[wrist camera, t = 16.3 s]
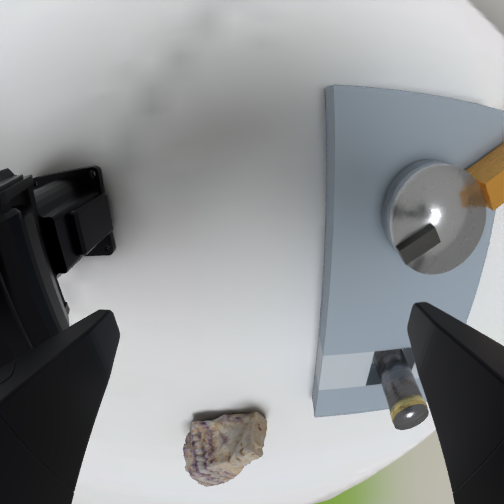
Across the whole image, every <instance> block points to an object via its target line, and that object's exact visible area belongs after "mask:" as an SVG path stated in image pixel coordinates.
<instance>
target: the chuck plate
mask: <svg viewBox="0 0 504 504" xmlns="http://www.w3.org/2000/svg"><path fill="white" fill-rule="evenodd" d="M325 96H326V134H327V192H326V231H325V254H324V273H323V289H322V304H321V316H320V328H319V340H318V350H317V360H316V369H315V378H314V387H313V395H312V399H313V408H314V416H315V417H325V416H336V415H346V414H355V413H363V412H371V411H378V410H384V409H389V406H388V403H387V400H386V397H385V394H384V391H383V388H382V385H381V382H380V379H379V376H378V373H377V370H376V367H375V364H371V363H372V359H373V355H374V351H384V350H392V349H400V348H404V350H403V353H404V355H405V357H406V360H407V362H408V364H409V366H410V369H411V371H412V373H413V376H414V378H415V380H416V383H417V385H418V387H419V390H420V392H421V394H422V397H423V398H424V400H425V402H427V399H426V396H425V393H424V390H423V387H422V384H421V381H420V378H419V375H418V372H417V368H416V364H415V360H414V356H413V352H412V348H411V344H410V340H409V336H408V332H407V325H408V321H409V317H410V313H411V309H412V306H413V304H414V303H417V302H428V303H430V304H431V305H433V306H435V307H437V308H438V309H440V310H442V311H444V312H446V313H447V314H449V315H451V316H453V317H454V318H456V319H458V320H460V321H461V322H463V323H465V324H466V322H467V319H468V316H469V313H470V310H471V307H472V304H473V301H474V298H475V294H476V291H477V288H478V284H479V281H480V277H481V274H482V270H483V266H484V262H485V258H486V254H487V250H488V246H489V241H490V237H491V232H492V227H493V222H494V216H495V210H496V209H495V210H494V211H493V210H491V209H489V208H488V207H486V222H485V227H484V231H483V234H482V236H481V239H480V241H479V243H478V245H477V246H476V248H475V249H474V251H473V252H472V253H471V255H470V256H469V257H468V258H467V259H466V260H465V261H464V262H463V263H461V264H460V265H459V266H457V267H456V268H454V269H452V270H450V271H448V272H445V273H441V274H434V275H430V274H423V273H419V272H417V271H415V270H413V269H412V268H410V267H409V266H408V265H405V263H404V262H403V261H402V259H401V257H400V256H399V255H398V253H397V252H396V251H395V250H394V248H393V247H392V246H391V245H390V243H389V242H388V240H387V238H386V236H385V233H384V230H383V225H382V206H383V201H384V198H385V195H386V192H387V190H388V188H389V186H390V185H391V183H392V181H393V180H394V179H395V177H396V176H397V175H398V174H399V173H400V172H401V171H402V170H403V169H405V168H406V167H407V166H409V165H411V164H413V163H415V162H417V161H421V160H425V159H435V160H440V161H444V162H446V163H449V164H451V165H454V166H456V167H459V168H461V169H463V170H467V169H468V168H470V167H471V166H472V165H474V164H475V163H477V162H478V161H479V160H481V159H482V158H484V157H485V156H486V155H488V154H489V153H491V152H492V151H493V150H495V149H496V148H497V147H499V146H500V145H501V144H503V137H504V111H502V110H499V109H495V108H491V107H487V106H483V105H479V104H475V103H470V102H466V101H461V100H456V99H451V98H446V97H440V96H435V95H429V94H423V93H416V92H409V91H401V90H393V89H384V88H373V87H362V86H347V85H332V86H329V87H326V88H325Z"/></svg>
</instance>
